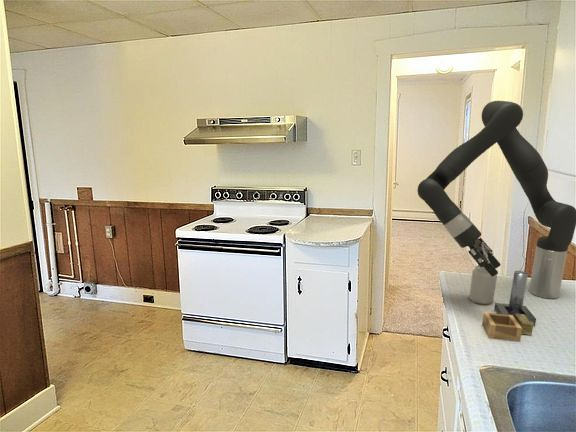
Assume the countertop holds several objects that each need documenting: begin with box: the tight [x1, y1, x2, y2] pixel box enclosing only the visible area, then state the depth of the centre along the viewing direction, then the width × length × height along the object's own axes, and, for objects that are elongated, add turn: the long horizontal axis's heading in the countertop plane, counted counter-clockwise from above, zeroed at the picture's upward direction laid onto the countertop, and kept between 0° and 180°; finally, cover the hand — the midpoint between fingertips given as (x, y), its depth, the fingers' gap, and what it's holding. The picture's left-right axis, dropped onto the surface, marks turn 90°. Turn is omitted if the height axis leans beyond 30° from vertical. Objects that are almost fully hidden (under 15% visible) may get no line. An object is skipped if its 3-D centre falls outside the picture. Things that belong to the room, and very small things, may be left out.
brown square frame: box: [481, 311, 522, 342], centre depth 119 cm, size 8×8×4 cm
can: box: [468, 264, 498, 306], centre depth 139 cm, size 8×8×12 cm
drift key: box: [514, 313, 534, 336], centre depth 121 cm, size 7×3×4 cm, turn 169°
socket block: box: [493, 302, 537, 327], centre depth 128 cm, size 9×9×2 cm
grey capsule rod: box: [508, 270, 529, 314], centre depth 126 cm, size 4×4×15 cm
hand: (496, 270), depth 128 cm, fingers open, 8 cm apart
